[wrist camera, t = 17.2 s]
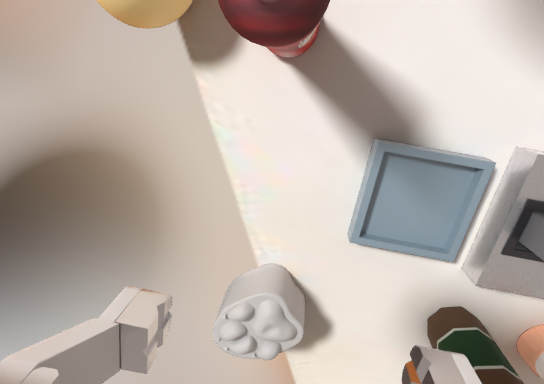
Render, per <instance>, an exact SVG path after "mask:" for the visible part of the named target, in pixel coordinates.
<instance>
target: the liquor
mask: <svg viewBox="0 0 544 384" xmlns="http://www.w3.org/2000/svg"><path fill="white" fill-rule="evenodd" d="M218 1H219V4H220V7H221V10H222V12H223V14H224V16H225V18H226V19H227V21H228V22H229V23H230V25H231V26H232V27H233V29H234V30H236V31H237V32H238V33H239V34H240V35H241V36H242V37H244V38H246V39H247V40H249V41H250V42H253V43H256V44H259V45H261V46H265V47H267V48H268V49H269V50H270V51H271V52H273V53H274V54H276V55H278V56H281V57H295V56H298V55H300V54H302V53H304V52H305V51H307V50H308V49H309V48H310V47H311V45H312V44H313V43H314V41H315V39H316V37H317V34H318V31H319V25H320V21H321V19H322V17H323V15H324V13H325V11H326V9H327V7H328V4H329V2H330V0H218Z"/></svg>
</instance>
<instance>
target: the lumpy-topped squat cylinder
mask: <svg viewBox="0 0 544 384" xmlns="http://www.w3.org/2000/svg"><path fill="white" fill-rule="evenodd" d="M304 324H305V296H304V294H303V292H302V291H301V290H300V289H299V288H298V287H297V286H296V284H295V283H294V281H293V280H292V277H291V275H290V273H289V271H288V270H287V269H286V268H285V267H283V266H281V265H278V264H265V265H262V266H259V267H256V268H253V269H251V270H248V271H246V272H244V273H243V274H241V275H239V276H238V277H236V278H235V279H234V280H233V281H232V283H231V284H230V285H229V287H228V289H227V291H226V294H225V297H224V299H223V302H222V304H221V307H220V310H219V312H218V315H217V318H216V320H215V323H214V328H213V337H214V341H215V343H216V344H217V346H218V347H219V348H220V349H222V350H223V351H225V352H227V353H229V354H231V355H234V356H237V357H241V358H250V359H263V360H271V359H273V358H275V357H276V356H277V355H278V354H279V353H281V352H283V351H285V350H287V349H290V348H292V347H294V346H295V345H297V344H298V343H300V341H301V340H302V338H303V336H304Z"/></svg>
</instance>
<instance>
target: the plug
mask: <svg viewBox="0 0 544 384" xmlns="http://www.w3.org/2000/svg"><path fill="white" fill-rule="evenodd" d="M518 241H519V242H520V243H522V244H523V245H524V246H525V247H527V248H528V249H529V250H531V251H532V252H533V253H534V254H536V255H537V256H538V257H540V258H541V259H542V260H543V261H544V210H539V209H534V210H533V212H532V214H531V216H530V218H529V220H528V222H527V224H526V226H525V228H524V230H523V232H522V234H521V236H520V238H519V240H518Z"/></svg>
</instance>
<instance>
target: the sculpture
mask: <svg viewBox="0 0 544 384" xmlns="http://www.w3.org/2000/svg"><path fill="white" fill-rule="evenodd" d="M96 1H97V2H98V3H99V4H100V5H101V6H102V7H103V8H104V9H105V10H106V11H107V12H108V13H109V14H111V15H112V16H113V17H115V18H116V19H118V20H120V21H121V22H123V23H126V24H128V25H130V26H134V27H138V28H156V27H161V26H165V25H167V24H170V23H172V22H174V21H175V20H177V19H178V18H179V17H181V16H182V15H183V14H184V13H185V12H186V11H187V9H188V8H189V7H190V5H191V3H192V2H193V0H96Z"/></svg>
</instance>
